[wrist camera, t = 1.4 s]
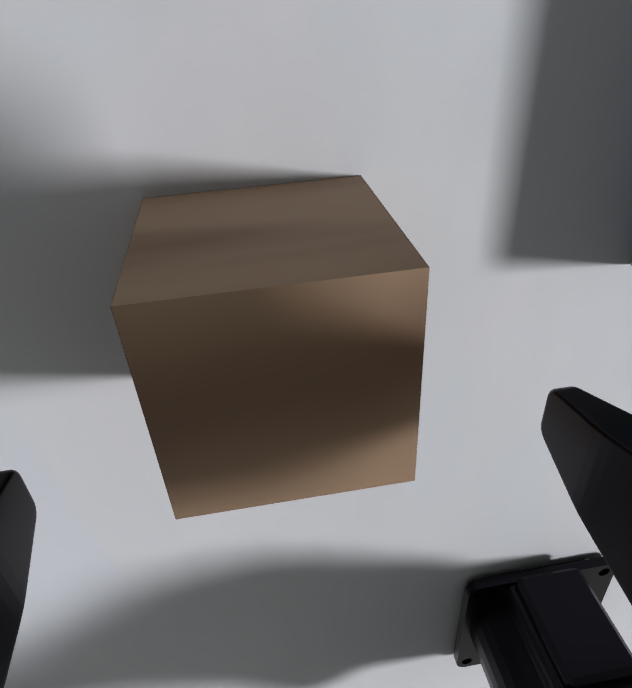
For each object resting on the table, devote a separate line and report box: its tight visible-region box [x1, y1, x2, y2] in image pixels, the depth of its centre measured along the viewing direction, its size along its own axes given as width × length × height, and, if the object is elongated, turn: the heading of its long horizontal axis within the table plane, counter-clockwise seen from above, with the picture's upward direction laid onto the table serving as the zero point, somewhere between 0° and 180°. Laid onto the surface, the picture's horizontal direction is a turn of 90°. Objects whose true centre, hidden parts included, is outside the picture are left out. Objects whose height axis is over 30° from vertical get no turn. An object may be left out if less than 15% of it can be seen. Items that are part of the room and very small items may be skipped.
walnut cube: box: [110, 175, 429, 519], centre depth 12 cm, size 5×5×5 cm
